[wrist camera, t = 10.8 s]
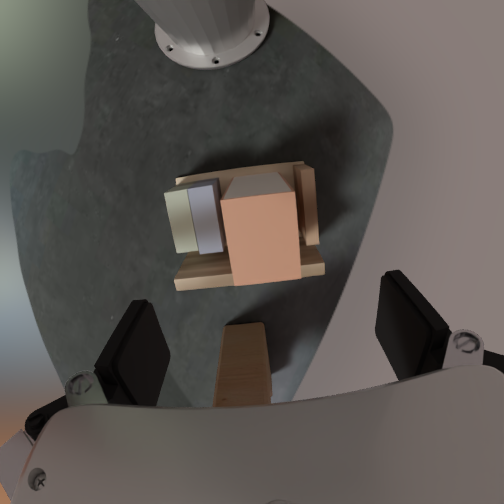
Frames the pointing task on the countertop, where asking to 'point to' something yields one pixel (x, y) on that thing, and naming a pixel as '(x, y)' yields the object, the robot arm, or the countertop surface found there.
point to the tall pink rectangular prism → (261, 229)
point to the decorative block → (243, 367)
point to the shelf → (221, 260)
